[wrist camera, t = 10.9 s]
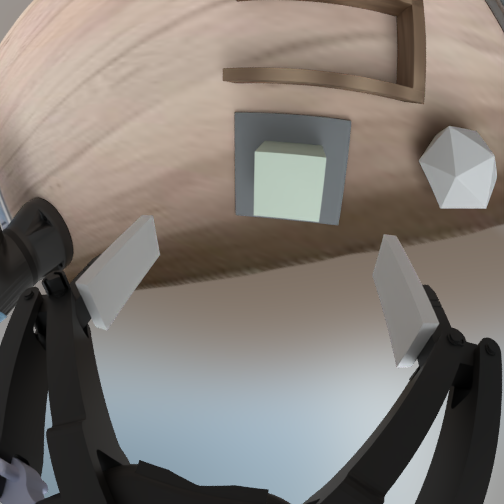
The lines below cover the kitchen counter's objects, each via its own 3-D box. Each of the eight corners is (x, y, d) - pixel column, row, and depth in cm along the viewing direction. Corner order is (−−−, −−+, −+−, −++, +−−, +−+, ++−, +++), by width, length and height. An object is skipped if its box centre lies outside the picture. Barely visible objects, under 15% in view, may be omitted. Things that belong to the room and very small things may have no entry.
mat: (237, 213, 33) (235, 215, 32) (236, 112, 26) (234, 112, 26) (337, 222, 31) (338, 225, 31) (350, 120, 25) (351, 121, 24)
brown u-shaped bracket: (236, 83, 25) (222, 80, 20) (237, -8, 18) (224, -24, 14) (405, 101, 22) (423, 104, 18) (406, 10, 16) (422, -2, 12)
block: (263, 193, 30) (253, 215, 25) (264, 140, 27) (254, 151, 22) (316, 198, 29) (318, 222, 24) (322, 145, 26) (326, 157, 21)
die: (395, 162, 26) (438, 238, 22) (425, 99, 18) (491, 179, 14) (441, 162, 27) (481, 227, 23) (471, 110, 19) (525, 180, 15)
